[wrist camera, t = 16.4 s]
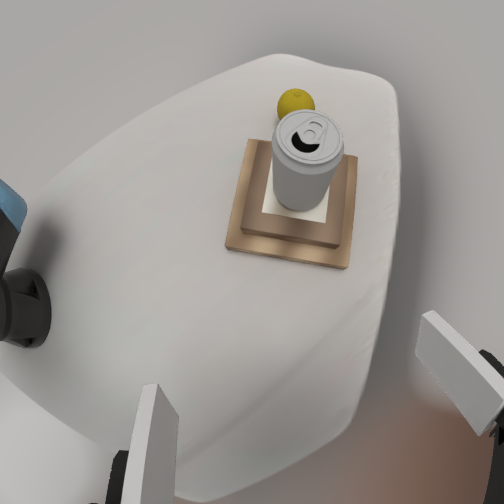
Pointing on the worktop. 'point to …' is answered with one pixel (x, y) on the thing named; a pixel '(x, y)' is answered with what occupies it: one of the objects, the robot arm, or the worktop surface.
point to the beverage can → (305, 158)
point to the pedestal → (291, 214)
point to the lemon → (294, 102)
